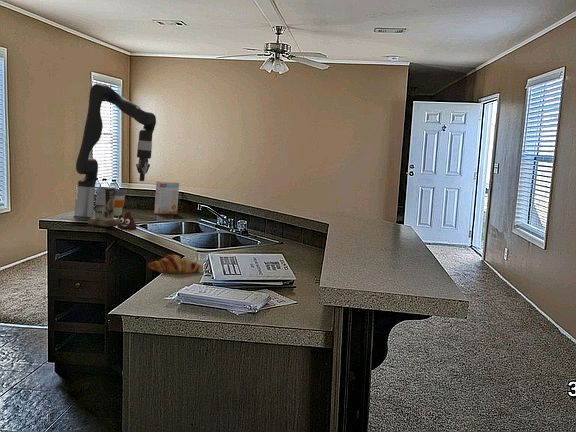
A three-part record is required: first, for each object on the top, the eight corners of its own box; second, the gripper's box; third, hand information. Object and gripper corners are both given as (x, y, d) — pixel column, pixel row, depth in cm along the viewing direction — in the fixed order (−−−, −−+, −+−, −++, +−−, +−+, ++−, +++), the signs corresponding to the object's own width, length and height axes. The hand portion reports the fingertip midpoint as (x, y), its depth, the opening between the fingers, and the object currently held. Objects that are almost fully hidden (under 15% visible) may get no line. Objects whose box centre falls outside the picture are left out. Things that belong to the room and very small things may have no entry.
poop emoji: (139, 228, 319) (140, 211, 318) (132, 230, 311) (133, 212, 310) (121, 225, 321) (122, 208, 320) (114, 227, 313) (115, 210, 312)
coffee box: (105, 219, 315) (107, 189, 313) (94, 218, 316) (96, 187, 314) (113, 217, 324) (116, 188, 322) (103, 216, 325) (105, 187, 323)
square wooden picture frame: (87, 223, 316) (88, 217, 315) (99, 221, 327) (99, 215, 327) (108, 226, 313) (109, 220, 313) (119, 224, 325) (120, 218, 325)
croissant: (199, 279, 234) (199, 259, 236) (206, 272, 225) (206, 252, 228) (145, 277, 225) (145, 257, 228) (150, 270, 216) (150, 249, 219)
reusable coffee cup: (98, 213, 358) (99, 188, 356) (115, 212, 368) (116, 188, 366) (111, 216, 351) (113, 191, 349) (128, 215, 361) (130, 191, 359)
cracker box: (172, 213, 394) (174, 181, 392) (177, 214, 390) (179, 182, 387) (153, 213, 384) (156, 180, 382) (158, 214, 380) (160, 181, 378)
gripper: (145, 149, 315) (143, 182, 318) (156, 150, 328) (153, 181, 330) (132, 148, 317) (130, 180, 319) (143, 148, 330) (140, 179, 332)
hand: (141, 181), depth 325 cm, fingers closed
